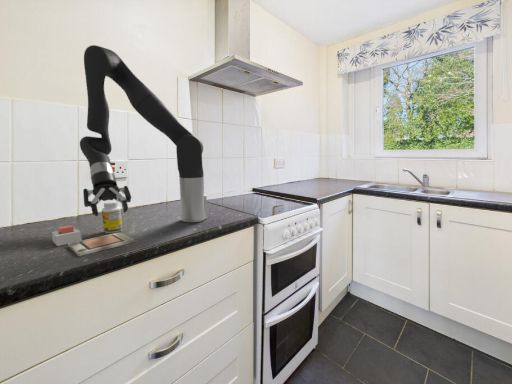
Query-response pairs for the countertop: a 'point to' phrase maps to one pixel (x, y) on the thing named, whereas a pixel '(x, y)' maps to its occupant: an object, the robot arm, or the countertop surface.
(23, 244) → the countertop surface
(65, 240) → the button housing
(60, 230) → the button
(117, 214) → the supplement bottle
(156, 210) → the countertop surface
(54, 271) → the countertop surface
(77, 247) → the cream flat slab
